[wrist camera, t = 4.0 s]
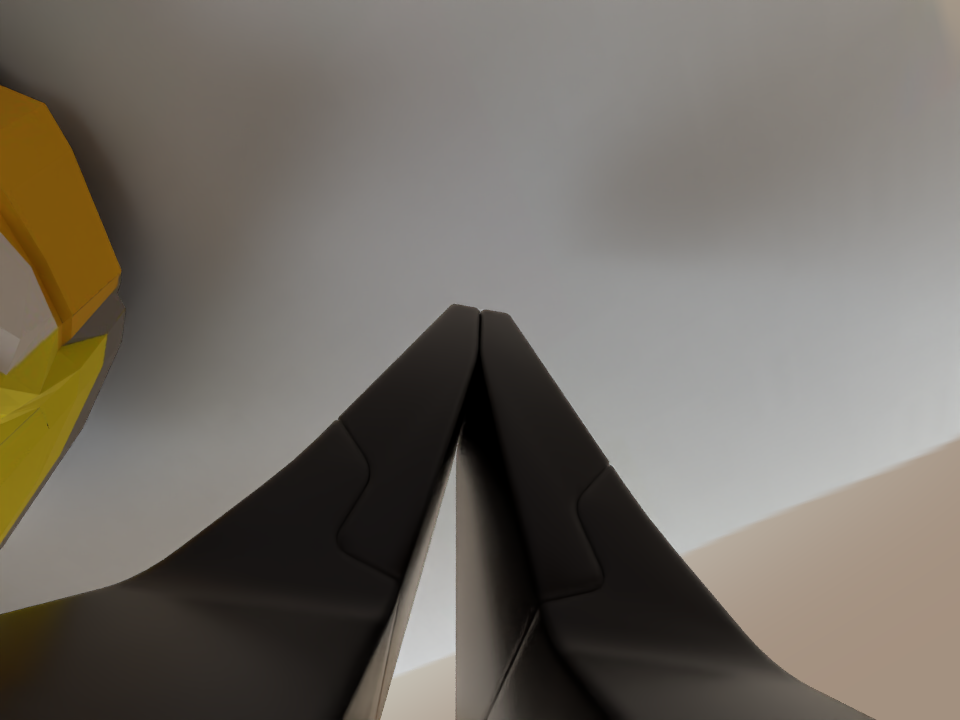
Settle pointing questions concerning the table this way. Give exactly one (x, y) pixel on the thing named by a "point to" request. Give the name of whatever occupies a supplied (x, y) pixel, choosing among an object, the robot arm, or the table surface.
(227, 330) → the table surface
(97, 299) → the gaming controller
